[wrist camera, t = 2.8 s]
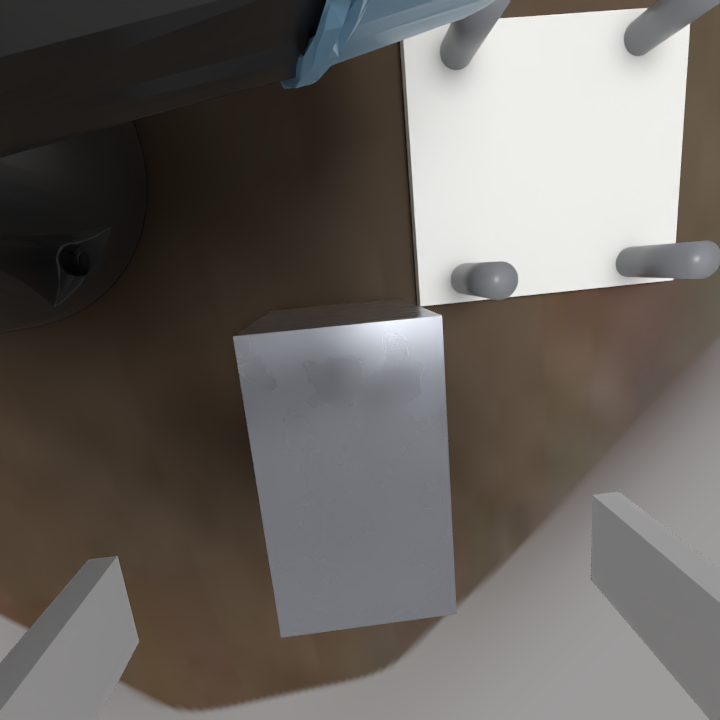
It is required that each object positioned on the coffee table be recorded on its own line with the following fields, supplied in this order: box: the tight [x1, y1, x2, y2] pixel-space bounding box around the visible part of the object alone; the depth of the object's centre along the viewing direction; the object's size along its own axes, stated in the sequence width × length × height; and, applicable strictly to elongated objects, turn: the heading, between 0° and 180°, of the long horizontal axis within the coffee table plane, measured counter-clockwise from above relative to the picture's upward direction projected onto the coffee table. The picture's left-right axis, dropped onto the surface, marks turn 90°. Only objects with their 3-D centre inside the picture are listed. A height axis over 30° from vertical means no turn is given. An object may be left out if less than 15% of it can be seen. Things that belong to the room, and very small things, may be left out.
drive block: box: [233, 298, 456, 638], centre depth 20 cm, size 12×7×9 cm, turn 5°
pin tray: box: [400, 0, 720, 306], centre depth 19 cm, size 14×13×5 cm
